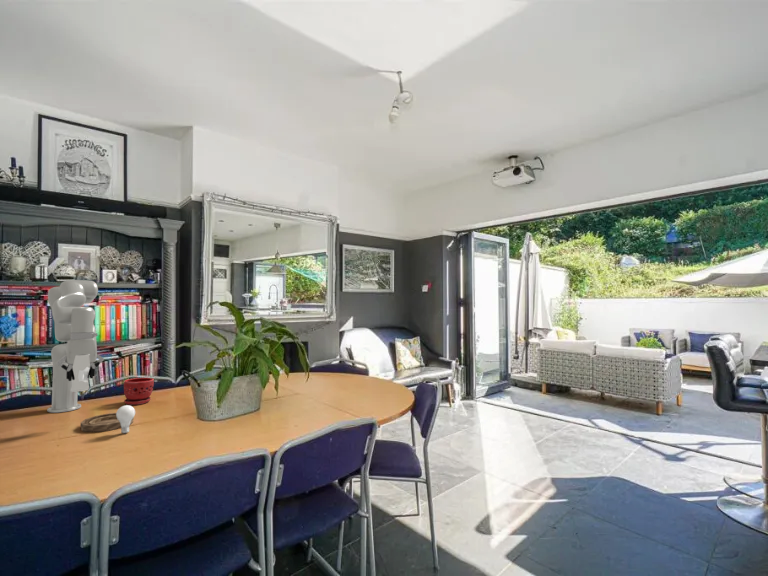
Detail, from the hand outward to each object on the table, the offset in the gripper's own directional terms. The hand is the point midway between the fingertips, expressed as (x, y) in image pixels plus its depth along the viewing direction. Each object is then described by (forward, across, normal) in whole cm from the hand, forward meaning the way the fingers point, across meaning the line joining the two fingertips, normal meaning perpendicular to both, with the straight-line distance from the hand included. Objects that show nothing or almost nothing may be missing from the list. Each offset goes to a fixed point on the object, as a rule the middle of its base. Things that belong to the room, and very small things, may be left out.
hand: (80, 378), depth 161 cm
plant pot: (+20, -28, -26) cm, 43 cm away
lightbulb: (+20, -11, +23) cm, 32 cm away
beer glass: (+5, 0, 0) cm, 5 cm away
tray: (+20, -9, +6) cm, 23 cm away
